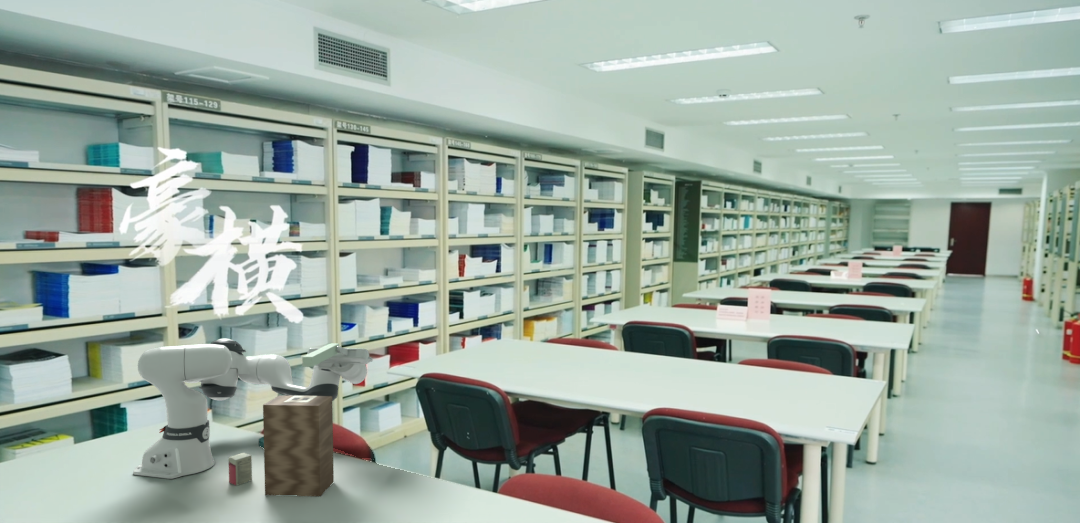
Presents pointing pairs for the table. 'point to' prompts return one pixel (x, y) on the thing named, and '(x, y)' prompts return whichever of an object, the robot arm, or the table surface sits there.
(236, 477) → the small box
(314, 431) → the stand
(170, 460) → the robot arm
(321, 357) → the bar
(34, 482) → the table surface
